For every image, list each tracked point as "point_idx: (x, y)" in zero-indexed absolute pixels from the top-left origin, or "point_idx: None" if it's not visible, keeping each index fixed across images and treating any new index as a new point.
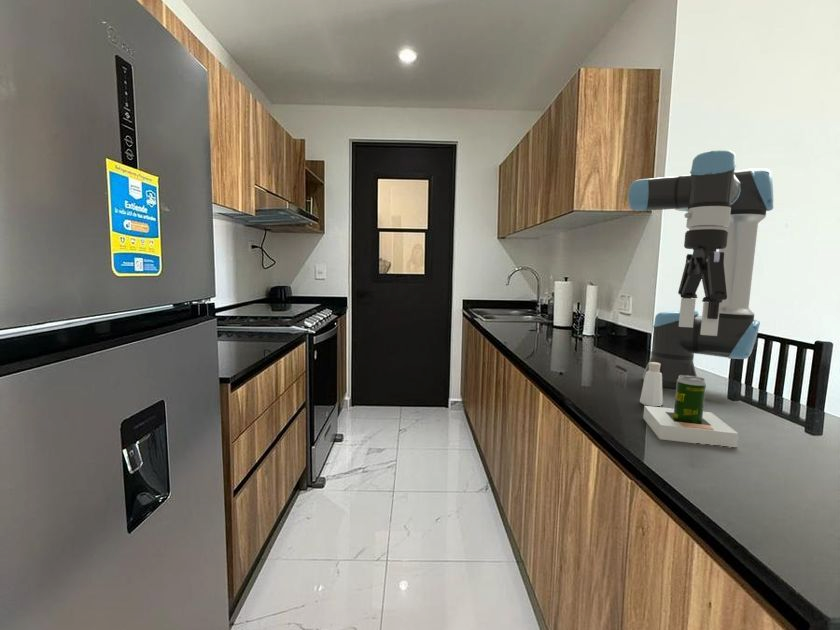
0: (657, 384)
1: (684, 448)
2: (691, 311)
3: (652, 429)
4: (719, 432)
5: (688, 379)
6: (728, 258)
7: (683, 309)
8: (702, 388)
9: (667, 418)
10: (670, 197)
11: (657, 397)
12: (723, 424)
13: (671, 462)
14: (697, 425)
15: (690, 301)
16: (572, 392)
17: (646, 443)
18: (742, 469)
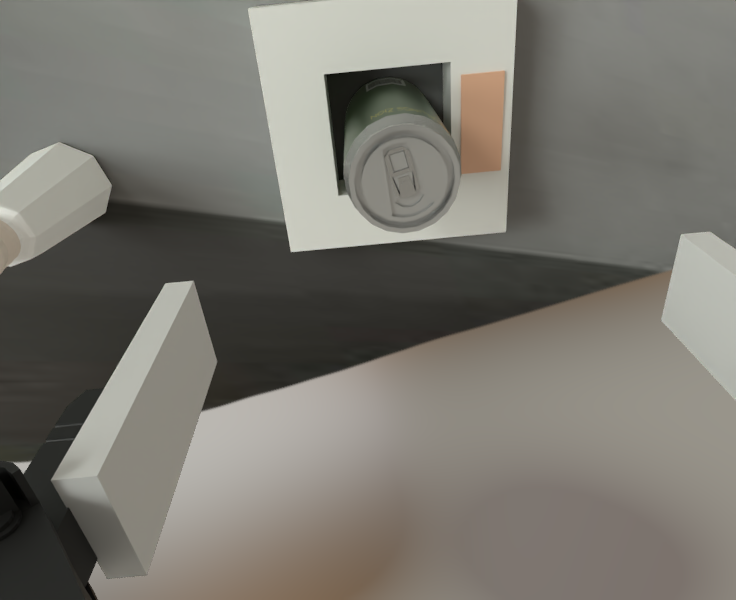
0: (53, 202)
1: (552, 159)
2: (162, 388)
3: None
4: (514, 51)
5: (450, 203)
6: None
7: (176, 455)
8: (449, 133)
9: None
10: None
11: (82, 179)
12: (415, 7)
13: (664, 212)
14: (479, 119)
15: (130, 485)
16: None
17: (540, 251)
18: (686, 30)
